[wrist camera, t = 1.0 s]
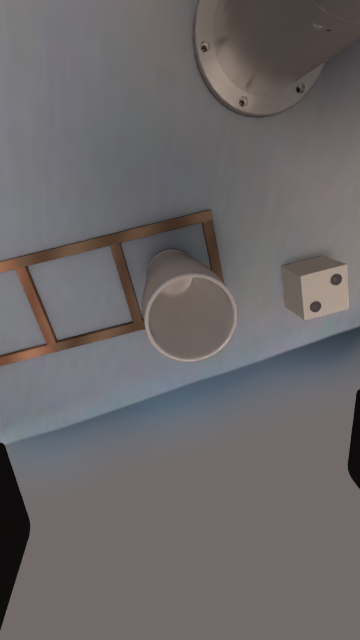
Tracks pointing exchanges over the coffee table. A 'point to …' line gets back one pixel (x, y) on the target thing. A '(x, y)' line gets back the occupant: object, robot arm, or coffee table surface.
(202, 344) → the drinking glass
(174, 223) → the copper window frame
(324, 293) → the die
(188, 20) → the coffee table surface
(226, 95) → the robot arm
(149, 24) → the coffee table surface
